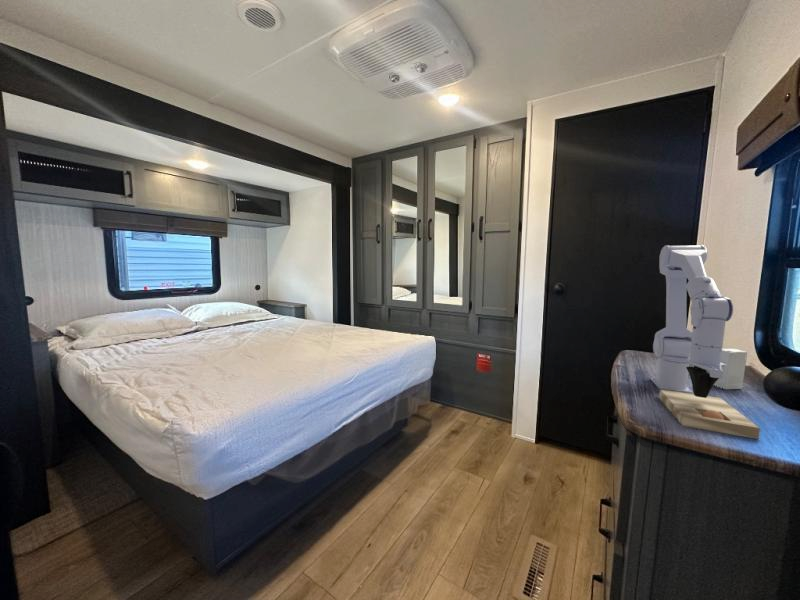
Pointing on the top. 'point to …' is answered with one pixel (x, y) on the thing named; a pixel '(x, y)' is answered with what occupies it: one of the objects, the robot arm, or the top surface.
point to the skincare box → (732, 369)
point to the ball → (713, 414)
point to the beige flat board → (691, 415)
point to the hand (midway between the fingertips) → (700, 396)
